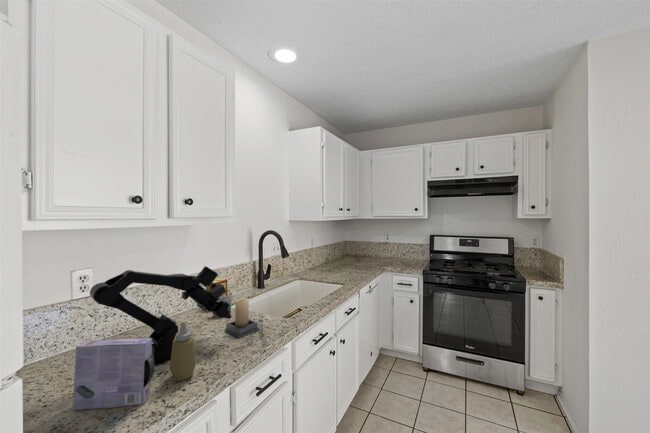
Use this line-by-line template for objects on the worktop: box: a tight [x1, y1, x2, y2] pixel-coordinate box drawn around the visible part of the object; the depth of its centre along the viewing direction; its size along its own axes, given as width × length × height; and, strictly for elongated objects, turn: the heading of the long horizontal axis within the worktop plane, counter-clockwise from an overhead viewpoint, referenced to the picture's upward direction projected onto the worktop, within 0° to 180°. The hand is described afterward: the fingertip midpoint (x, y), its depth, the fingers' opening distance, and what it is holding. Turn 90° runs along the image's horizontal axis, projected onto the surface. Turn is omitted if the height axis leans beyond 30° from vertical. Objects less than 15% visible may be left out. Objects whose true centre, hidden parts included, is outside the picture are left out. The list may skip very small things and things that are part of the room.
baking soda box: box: [205, 278, 228, 298], centre depth 161 cm, size 10×6×16 cm
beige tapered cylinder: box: [234, 298, 250, 328], centre depth 129 cm, size 6×6×13 cm
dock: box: [224, 318, 260, 339], centre depth 130 cm, size 11×11×4 cm
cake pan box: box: [72, 337, 156, 412], centre depth 80 cm, size 19×5×18 cm, turn 99°
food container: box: [212, 293, 234, 318], centre depth 149 cm, size 12×6×10 cm, turn 143°
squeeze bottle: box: [169, 321, 197, 381], centre depth 93 cm, size 8×8×18 cm
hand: (225, 315), depth 123 cm, fingers open, 9 cm apart
